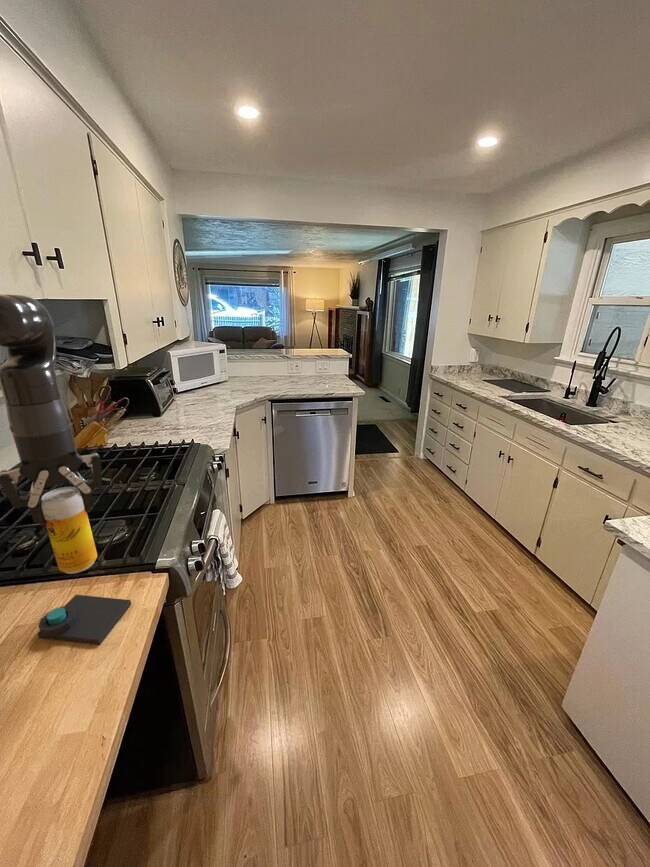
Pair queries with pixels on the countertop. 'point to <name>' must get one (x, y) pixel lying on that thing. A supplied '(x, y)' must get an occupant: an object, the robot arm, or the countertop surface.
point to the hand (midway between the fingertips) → (66, 515)
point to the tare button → (56, 616)
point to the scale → (86, 620)
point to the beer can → (69, 529)
